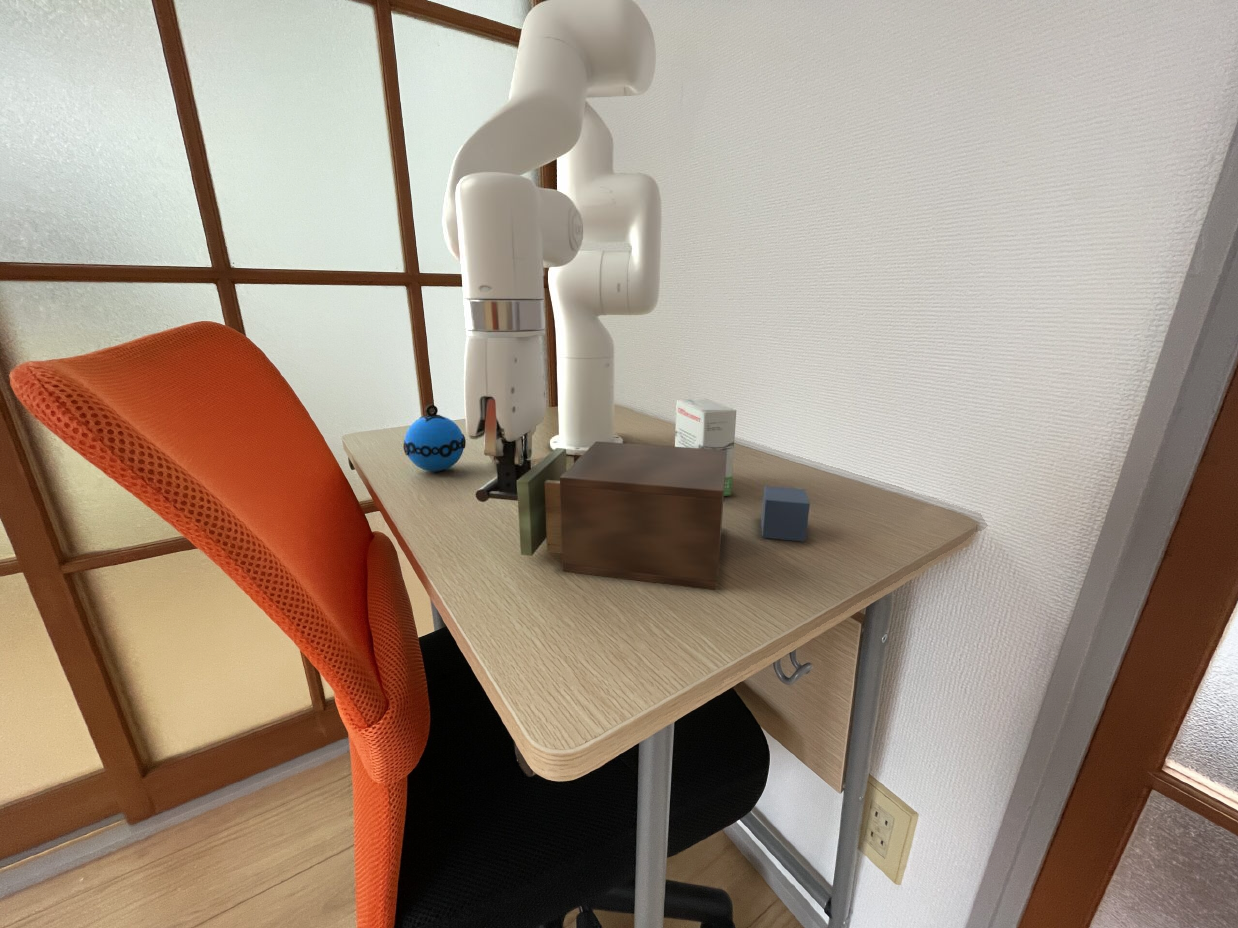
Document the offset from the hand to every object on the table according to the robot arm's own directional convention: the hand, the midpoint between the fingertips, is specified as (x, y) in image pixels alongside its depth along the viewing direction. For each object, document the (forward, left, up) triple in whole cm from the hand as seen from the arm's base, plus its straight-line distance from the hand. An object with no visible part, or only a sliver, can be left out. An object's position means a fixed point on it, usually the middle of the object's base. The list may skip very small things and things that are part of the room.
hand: (515, 496), depth 56 cm
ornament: (-18, -21, -5) cm, 28 cm away
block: (-8, +28, -5) cm, 30 cm away
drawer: (0, +7, -4) cm, 8 cm away
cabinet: (0, +14, -5) cm, 15 cm away
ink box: (-20, +18, -5) cm, 28 cm away
